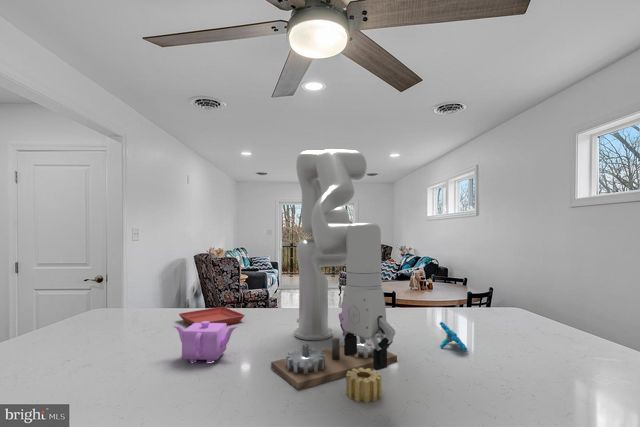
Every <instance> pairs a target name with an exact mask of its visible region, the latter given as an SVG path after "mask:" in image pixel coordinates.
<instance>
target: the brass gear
mask: <svg viewBox="0 0 640 427" xmlns="http://www.w3.org/2000/svg"><path fill="white" fill-rule="evenodd" d="M345 377H346V378H345V384H346V385H345V387H346V388H345V394H346V396H348V398H349V399H350V400H353V399H354V401H355V402H358V403H360V402H361V401H363V402H364V403H366V404H367V403H370V401H372V402H377V401H378V399H381V398H382V374H381V373H379V370H374V369H369V368H367V369H363V368H359V369H355V368H354V369H351V371H348V372H347V374H346V376H345Z"/></svg>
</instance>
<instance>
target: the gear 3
mask: <svg viewBox="0 0 640 427" xmlns="http://www.w3.org/2000/svg"><path fill="white" fill-rule="evenodd" d="M438 324H439V325H440V328H442V330H444V332H445V333H446V335H445V336H446V337H445V338H444V339H443V340H442V341H441V343H440V344H439V347H440V349H444V347H446V346H447V345H448V344H449V343H453V342H455V343H456V345H457V346H458V347H459V348H460V349H461V350H462V351H463V352H466V351H467V350H468V348H467V346H466V345H465V343H463V342H462V340H461V339H460V338H459V337H458V334H457V333H456V332H454V330H452V329H450V327H449V326H448V325H446V324H445V323H444V322H443V321H440V322H439V323H438Z"/></svg>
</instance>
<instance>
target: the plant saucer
mask: <svg viewBox="0 0 640 427" xmlns="http://www.w3.org/2000/svg"><path fill="white" fill-rule="evenodd" d="M178 315H179V317H180V318H181V319H182V320H183V321H184V322H185V323H186V322H187V324H188V323H189V325H190V324H191V325H192V324H194V323H201V322H203V321H209V322H210V323H226V324H227V326H228V324H229V325H233V323H234V324H238V323H240V322H241V321H242V320H243V319H244V318H245V316H246V315H245V314H244V313H240V312H238V311H236V310H232V309H231V308H227V307H225V306H219V307H213V308H206V309H199V310H193V311H186V312H181V313H179V314H178ZM191 325H190V326H191Z"/></svg>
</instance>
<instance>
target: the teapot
mask: <svg viewBox="0 0 640 427" xmlns="http://www.w3.org/2000/svg"><path fill="white" fill-rule="evenodd" d="M227 326H228V325H227V324H226V323H210V322H209V321H203V322H201V323H194V324H192V325H189V326H188V327H186V328H185V329H183V327H182V326H181V325H172V327H173V328H175V329H176V330H177V332H178V335H179V339H180V342H181V360H189V361H190V362H195V361H196V362H197V361H198V360H204V361H205V360H206V363H207V362H212V361H214V362H215V360H216V361H217V360H218V359H219V358H220V357H221V356H222V354H223V353H224V352H225V351H226V350H227V345H228V343H229V341H230V339H231V335H232V332H233V331H234V330H235V329H237V328H239V326H238V325H237V326H236V325H232V326H230V327H229V328H228V329H227ZM196 362H195V363H196Z"/></svg>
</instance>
